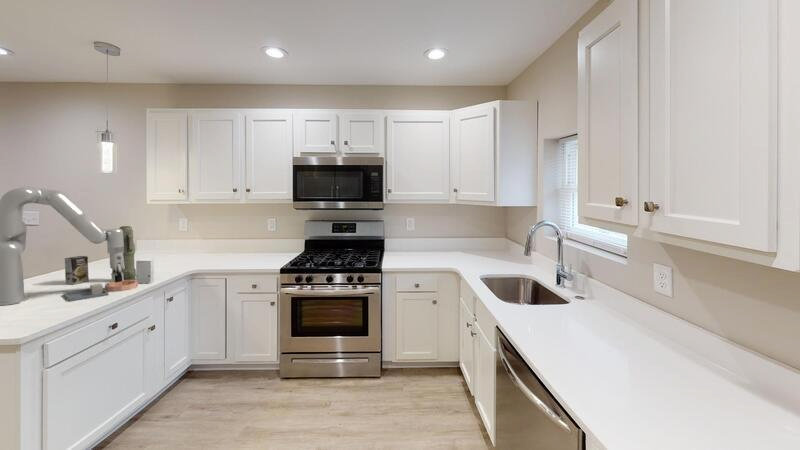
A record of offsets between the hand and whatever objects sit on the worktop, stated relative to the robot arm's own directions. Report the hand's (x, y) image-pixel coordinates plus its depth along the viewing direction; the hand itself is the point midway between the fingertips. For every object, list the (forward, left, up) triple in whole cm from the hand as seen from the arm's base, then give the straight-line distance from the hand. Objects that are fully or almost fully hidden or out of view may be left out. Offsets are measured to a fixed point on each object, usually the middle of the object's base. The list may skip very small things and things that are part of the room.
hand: (117, 280), depth 210 cm
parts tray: (-15, -2, -6) cm, 16 cm away
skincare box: (+16, +9, -6) cm, 19 cm away
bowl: (+2, +2, -6) cm, 6 cm away
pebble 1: (-10, -2, -5) cm, 12 cm away
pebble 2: (0, 0, 0) cm, 0 cm away
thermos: (+10, +22, -6) cm, 25 cm away
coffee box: (-12, +36, -6) cm, 38 cm away
